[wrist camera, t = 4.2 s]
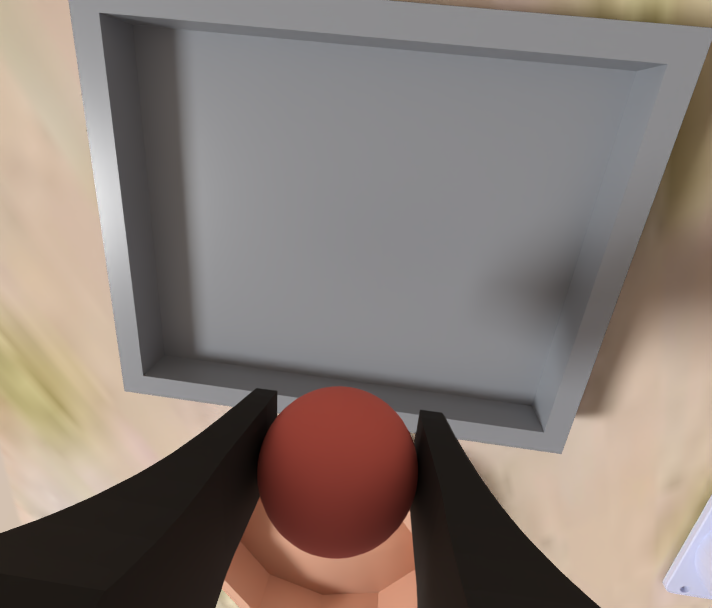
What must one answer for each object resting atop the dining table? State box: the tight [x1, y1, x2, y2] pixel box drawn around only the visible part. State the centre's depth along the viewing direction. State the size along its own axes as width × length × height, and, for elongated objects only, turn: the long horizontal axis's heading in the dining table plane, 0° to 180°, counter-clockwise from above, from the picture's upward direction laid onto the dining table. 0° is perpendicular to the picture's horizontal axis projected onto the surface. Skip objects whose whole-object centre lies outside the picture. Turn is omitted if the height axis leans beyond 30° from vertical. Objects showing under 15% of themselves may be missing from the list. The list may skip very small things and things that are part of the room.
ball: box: [257, 386, 418, 559], centre depth 11 cm, size 4×4×4 cm
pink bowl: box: [222, 498, 417, 608], centre depth 24 cm, size 12×13×3 cm
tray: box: [68, 0, 712, 454], centre depth 17 cm, size 20×16×2 cm
